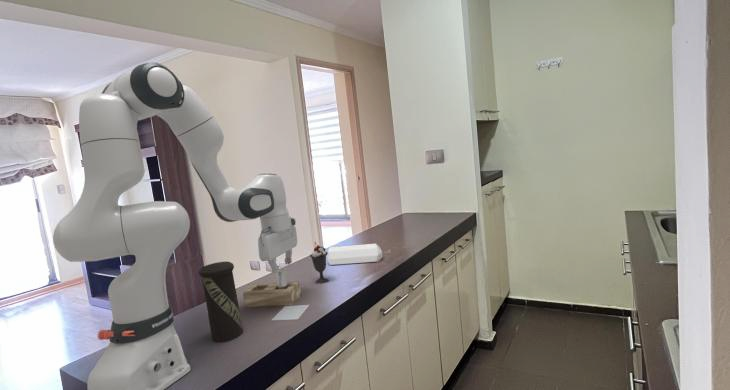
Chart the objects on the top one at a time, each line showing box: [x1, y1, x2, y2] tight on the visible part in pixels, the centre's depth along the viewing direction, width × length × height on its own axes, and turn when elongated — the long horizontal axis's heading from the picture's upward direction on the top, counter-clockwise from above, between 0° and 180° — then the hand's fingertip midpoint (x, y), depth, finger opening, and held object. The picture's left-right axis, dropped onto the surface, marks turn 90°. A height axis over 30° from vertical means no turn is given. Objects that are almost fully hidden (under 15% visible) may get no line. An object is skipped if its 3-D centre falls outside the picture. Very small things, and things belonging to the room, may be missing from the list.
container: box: [198, 261, 244, 343], centre depth 103 cm, size 9×9×20 cm
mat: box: [271, 304, 310, 321], centre depth 115 cm, size 10×8×1 cm
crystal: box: [326, 243, 383, 266], centre depth 162 cm, size 7×7×24 cm
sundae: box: [309, 242, 330, 284], centre depth 141 cm, size 7×7×15 cm
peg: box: [275, 269, 288, 289], centre depth 125 cm, size 3×3×10 cm
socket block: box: [242, 280, 302, 308], centre depth 126 cm, size 8×16×5 cm, turn 79°
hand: (282, 267), depth 123 cm, fingers open, 8 cm apart
